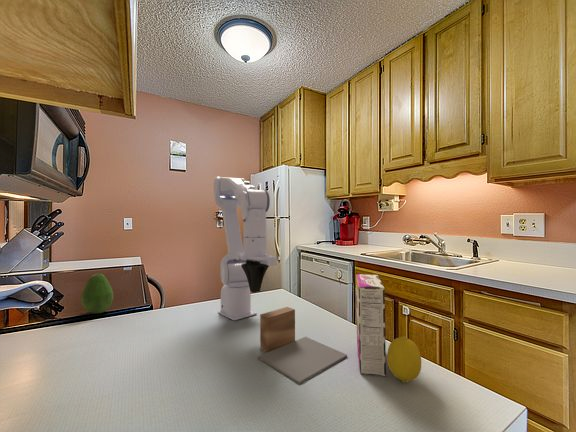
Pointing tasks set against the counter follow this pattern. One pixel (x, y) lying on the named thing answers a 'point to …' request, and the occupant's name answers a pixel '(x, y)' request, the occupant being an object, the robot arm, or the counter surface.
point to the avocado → (97, 294)
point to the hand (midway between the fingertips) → (255, 291)
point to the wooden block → (277, 328)
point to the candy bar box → (370, 324)
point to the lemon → (404, 359)
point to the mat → (302, 359)
